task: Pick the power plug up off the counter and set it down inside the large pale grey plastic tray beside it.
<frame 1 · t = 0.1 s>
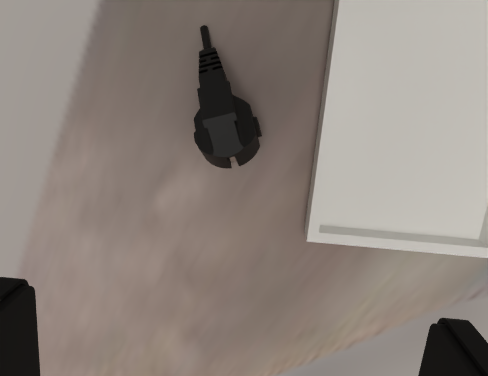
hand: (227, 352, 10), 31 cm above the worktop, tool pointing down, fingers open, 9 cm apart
power plug: (221, 94, 39), on the worktop
tray: (419, 108, 38), on the worktop
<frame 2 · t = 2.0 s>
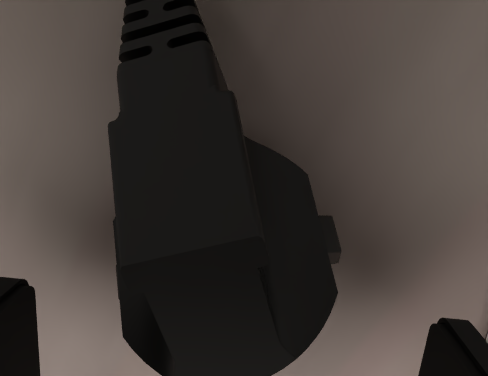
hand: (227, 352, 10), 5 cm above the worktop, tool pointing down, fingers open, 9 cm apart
power plug: (211, 124, 13), on the worktop
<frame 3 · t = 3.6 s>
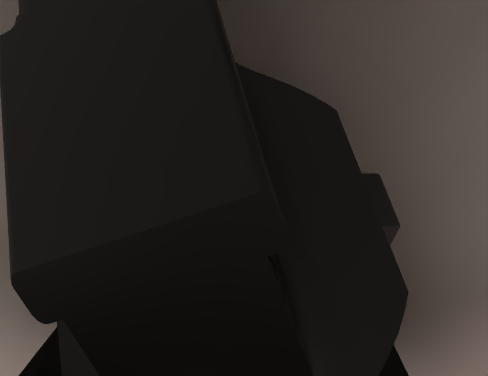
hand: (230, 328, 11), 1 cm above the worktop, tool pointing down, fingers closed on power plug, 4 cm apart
power plug: (192, 78, 10), on the worktop, touching gripper
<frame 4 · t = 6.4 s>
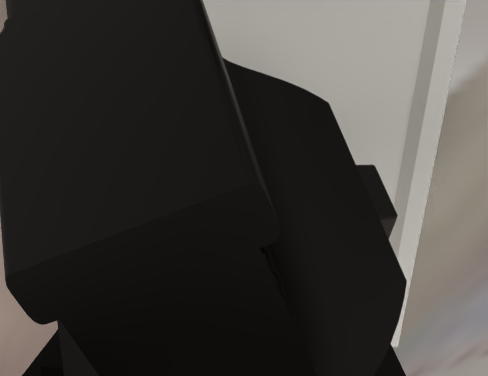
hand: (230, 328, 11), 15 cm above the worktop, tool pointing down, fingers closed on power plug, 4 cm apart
power plug: (187, 79, 10), point 14 cm above the worktop, touching gripper
tray: (267, 117, 24), on the worktop
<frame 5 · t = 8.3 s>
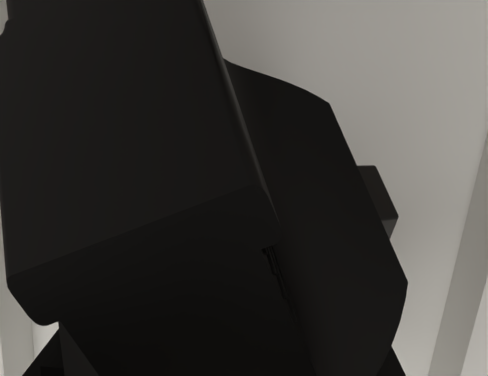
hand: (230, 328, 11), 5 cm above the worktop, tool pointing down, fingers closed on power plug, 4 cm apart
power plug: (187, 79, 10), point 5 cm above the worktop, touching gripper
tray: (248, 137, 15), on the worktop
when the fingers open (3 cm above the worktop, at t = 9.6 s): power plug drops 2 cm, resting on tray.
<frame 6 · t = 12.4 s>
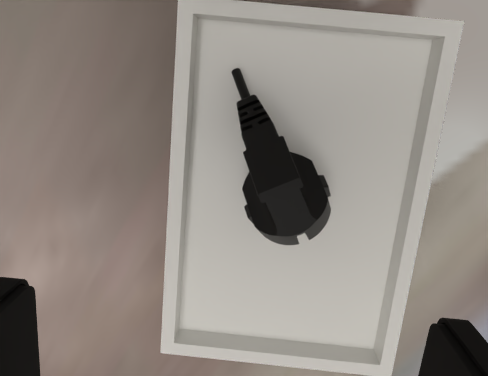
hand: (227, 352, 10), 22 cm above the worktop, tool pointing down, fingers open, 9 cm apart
power plug: (268, 148, 31), resting on tray
tray: (292, 196, 32), on the worktop
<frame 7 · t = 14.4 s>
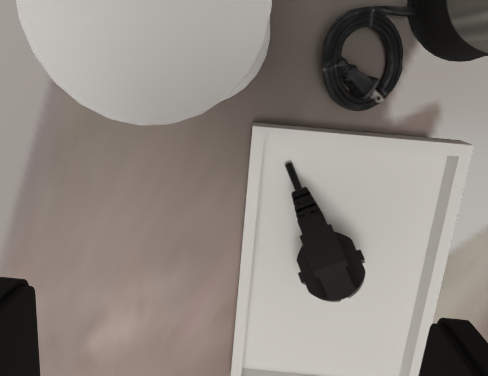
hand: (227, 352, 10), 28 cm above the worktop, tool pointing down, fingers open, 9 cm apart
decorative container: (200, 32, 35), on the worktop
power plug: (312, 221, 38), resting on tray
milk frother: (418, 30, 34), on the worktop
tray: (335, 266, 40), on the worktop
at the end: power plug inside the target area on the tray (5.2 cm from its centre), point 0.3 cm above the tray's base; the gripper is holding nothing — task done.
